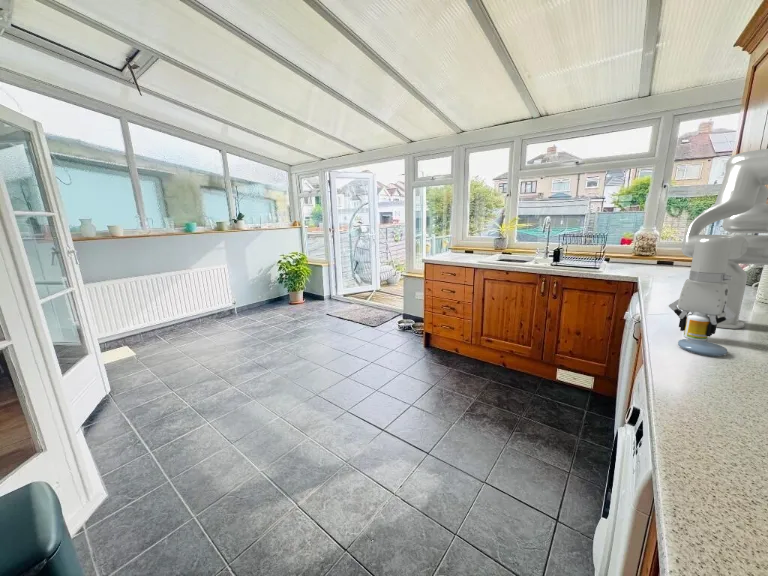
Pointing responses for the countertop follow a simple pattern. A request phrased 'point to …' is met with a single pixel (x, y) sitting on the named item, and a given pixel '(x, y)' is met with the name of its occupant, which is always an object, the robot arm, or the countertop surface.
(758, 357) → the countertop surface
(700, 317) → the supplement bottle
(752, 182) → the robot arm
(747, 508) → the countertop surface
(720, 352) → the pale blue round plate
